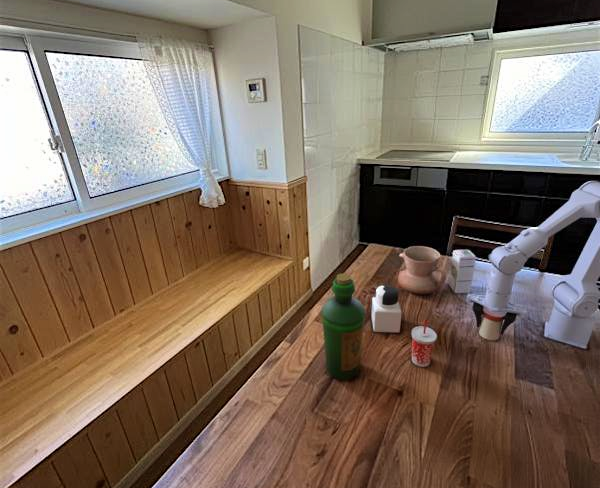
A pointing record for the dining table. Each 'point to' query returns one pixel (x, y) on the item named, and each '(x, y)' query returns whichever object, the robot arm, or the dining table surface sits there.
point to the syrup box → (462, 271)
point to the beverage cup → (422, 344)
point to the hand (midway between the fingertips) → (489, 329)
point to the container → (386, 310)
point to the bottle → (343, 329)
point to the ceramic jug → (421, 270)
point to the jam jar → (490, 329)
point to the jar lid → (493, 315)
